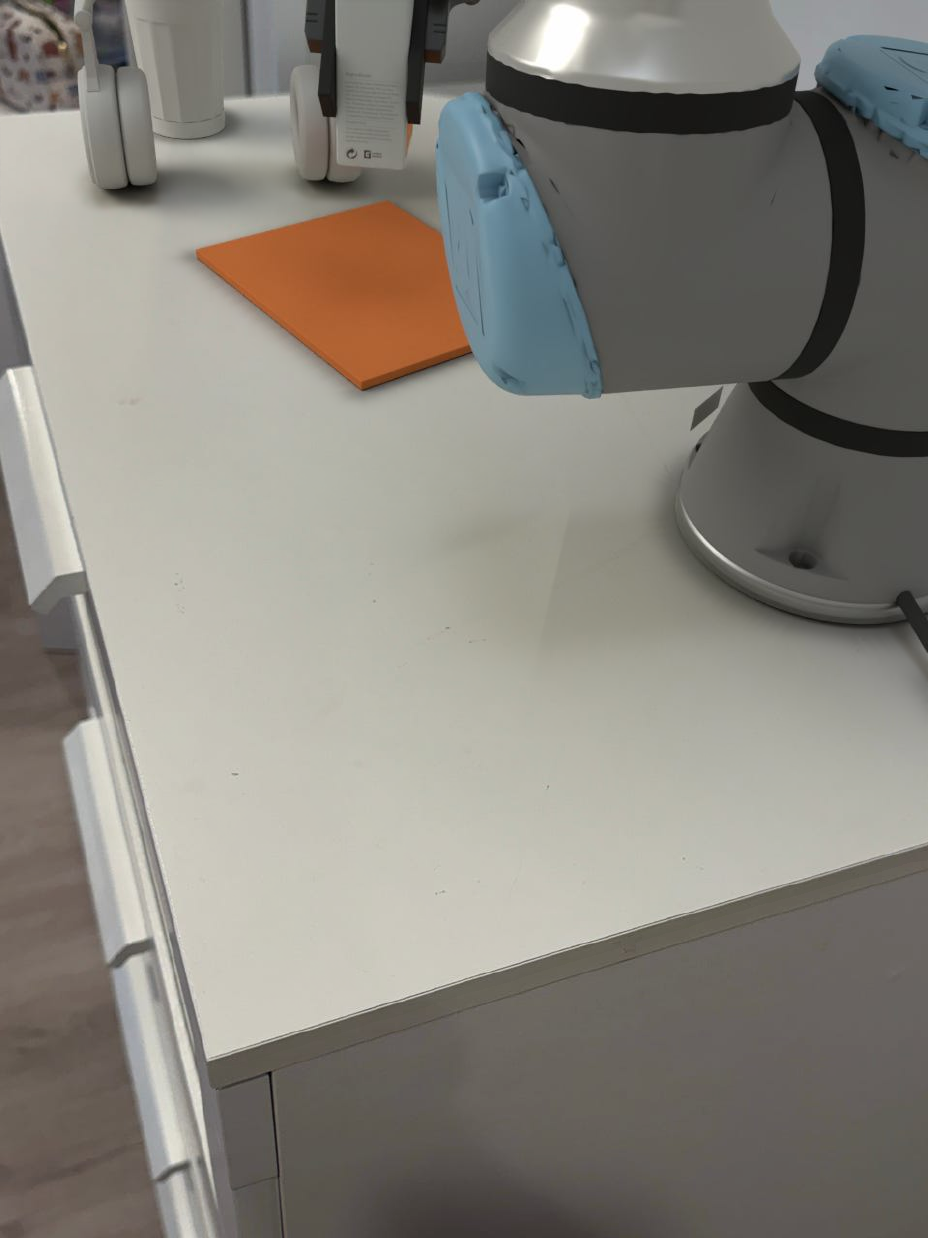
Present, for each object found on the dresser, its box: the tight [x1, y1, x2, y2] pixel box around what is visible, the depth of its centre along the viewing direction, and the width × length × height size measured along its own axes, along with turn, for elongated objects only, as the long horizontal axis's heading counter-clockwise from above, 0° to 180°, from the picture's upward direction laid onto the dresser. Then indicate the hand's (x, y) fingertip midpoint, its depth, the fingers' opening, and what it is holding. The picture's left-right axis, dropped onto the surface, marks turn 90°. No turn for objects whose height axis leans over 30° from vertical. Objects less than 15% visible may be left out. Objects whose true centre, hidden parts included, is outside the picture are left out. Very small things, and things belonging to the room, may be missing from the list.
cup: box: [124, 0, 226, 140], centre depth 94 cm, size 8×8×12 cm
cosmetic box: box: [335, 0, 414, 171], centre depth 69 cm, size 6×4×12 cm
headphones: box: [73, 0, 363, 190], centre depth 83 cm, size 20×8×19 cm, turn 103°
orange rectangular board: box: [195, 199, 473, 391], centre depth 79 cm, size 20×16×1 cm
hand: (370, 108), depth 67 cm, fingers closed on cosmetic box, 4 cm apart
